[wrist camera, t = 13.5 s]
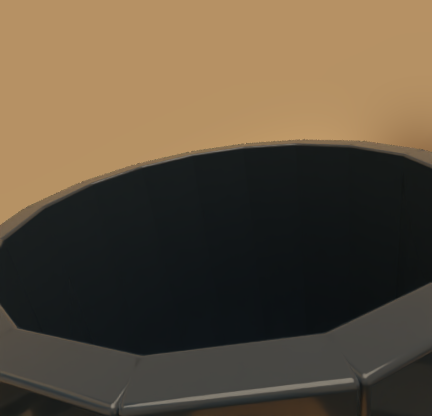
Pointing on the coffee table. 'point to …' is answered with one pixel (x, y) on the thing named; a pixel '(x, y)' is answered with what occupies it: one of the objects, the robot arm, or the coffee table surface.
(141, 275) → the cup
